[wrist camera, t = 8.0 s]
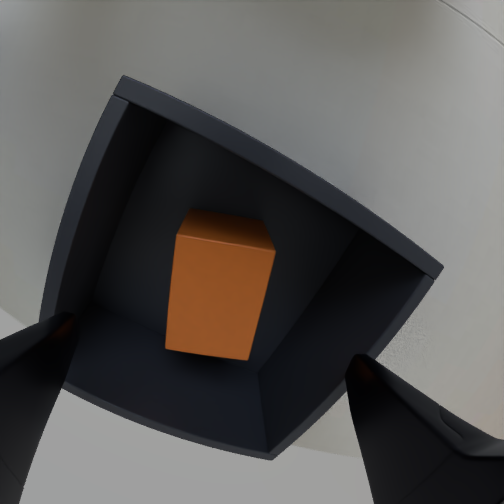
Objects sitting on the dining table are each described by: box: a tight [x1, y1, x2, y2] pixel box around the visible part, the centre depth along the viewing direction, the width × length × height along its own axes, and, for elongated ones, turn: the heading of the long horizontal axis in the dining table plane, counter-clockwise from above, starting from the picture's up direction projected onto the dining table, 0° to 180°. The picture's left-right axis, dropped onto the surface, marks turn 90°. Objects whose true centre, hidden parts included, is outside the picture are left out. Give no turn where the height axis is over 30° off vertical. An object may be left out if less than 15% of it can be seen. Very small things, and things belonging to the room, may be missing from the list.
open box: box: [39, 75, 444, 460], centre depth 13 cm, size 12×12×7 cm
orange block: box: [165, 208, 276, 360], centre depth 13 cm, size 5×4×4 cm
